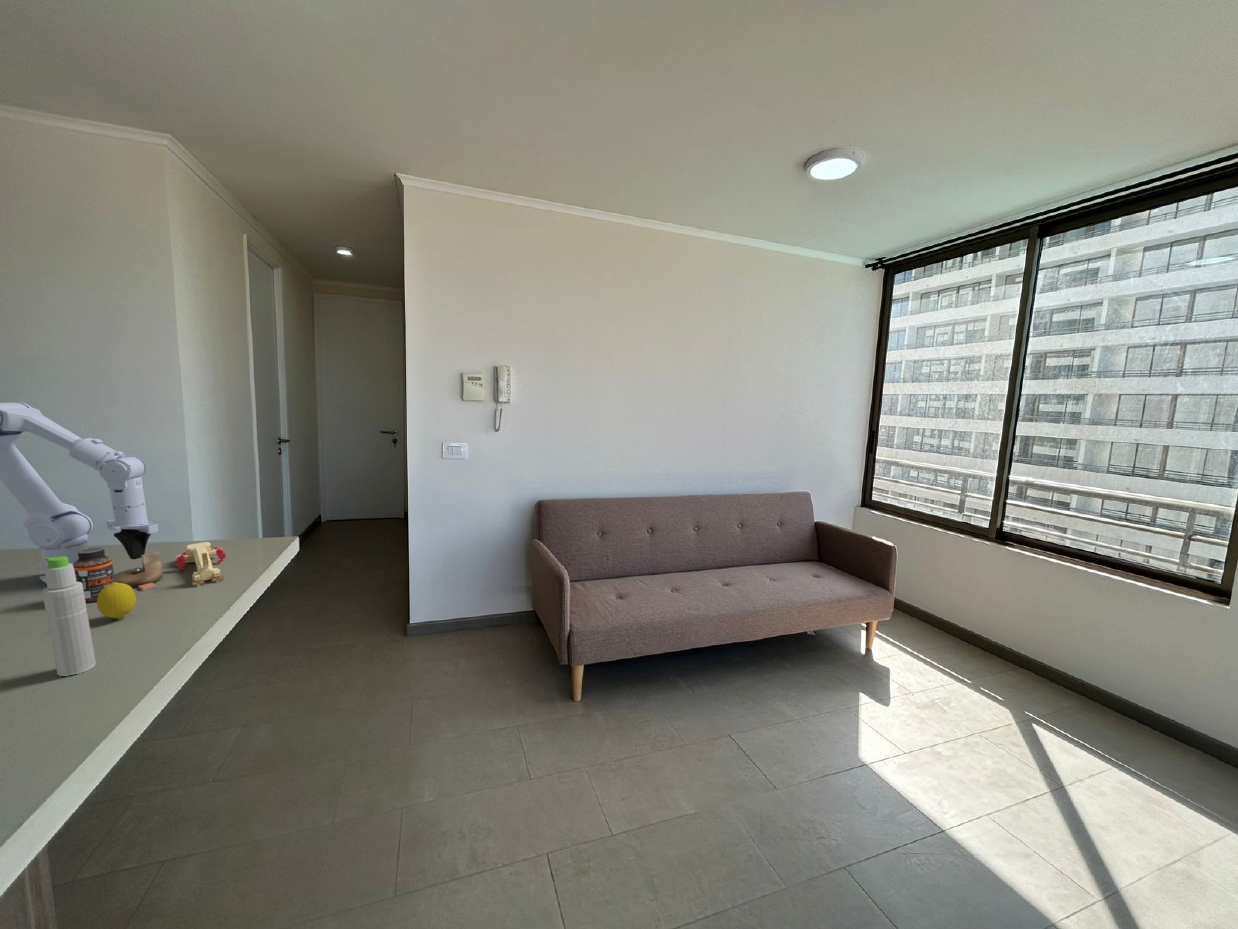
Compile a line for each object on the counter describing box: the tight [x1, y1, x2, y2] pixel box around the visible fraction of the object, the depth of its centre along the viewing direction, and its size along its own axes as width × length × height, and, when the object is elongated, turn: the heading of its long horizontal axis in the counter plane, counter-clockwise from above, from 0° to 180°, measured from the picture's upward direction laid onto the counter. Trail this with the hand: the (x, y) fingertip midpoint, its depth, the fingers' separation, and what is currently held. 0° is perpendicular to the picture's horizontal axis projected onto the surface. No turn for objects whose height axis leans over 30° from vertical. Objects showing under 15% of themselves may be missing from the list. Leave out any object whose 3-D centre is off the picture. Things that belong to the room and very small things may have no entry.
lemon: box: [96, 582, 137, 620], centre depth 98 cm, size 6×6×8 cm
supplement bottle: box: [73, 546, 115, 603], centre depth 107 cm, size 6×6×11 cm
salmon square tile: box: [138, 582, 157, 591], centre depth 114 cm, size 2×2×1 cm
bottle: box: [41, 556, 97, 676], centre depth 80 cm, size 4×4×20 cm
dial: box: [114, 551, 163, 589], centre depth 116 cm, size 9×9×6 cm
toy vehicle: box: [175, 541, 227, 587], centre depth 125 cm, size 10×9×25 cm
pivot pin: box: [130, 567, 141, 573], centre depth 116 cm, size 2×2×1 cm
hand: (137, 557), depth 120 cm, fingers closed
